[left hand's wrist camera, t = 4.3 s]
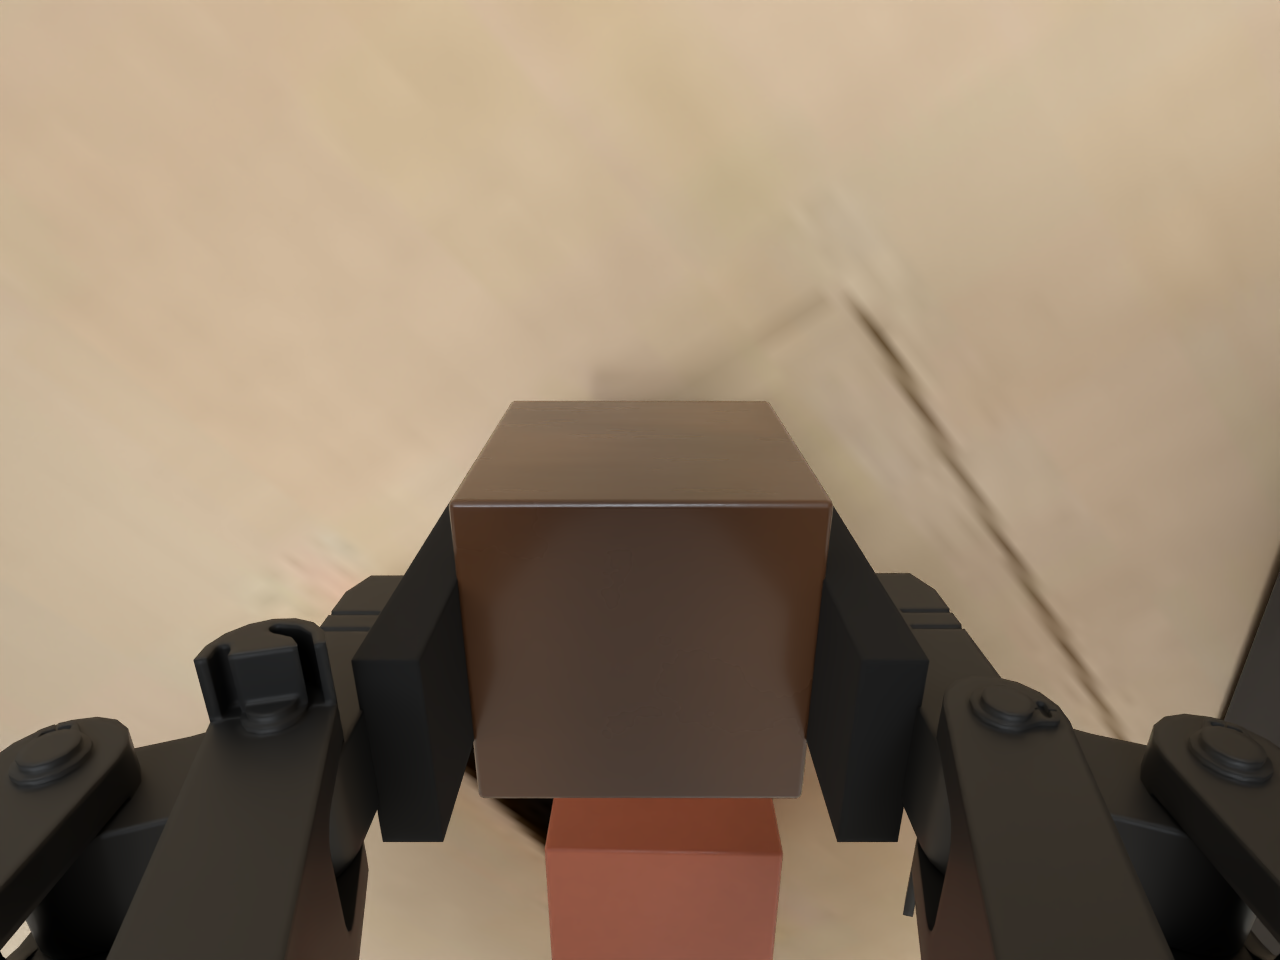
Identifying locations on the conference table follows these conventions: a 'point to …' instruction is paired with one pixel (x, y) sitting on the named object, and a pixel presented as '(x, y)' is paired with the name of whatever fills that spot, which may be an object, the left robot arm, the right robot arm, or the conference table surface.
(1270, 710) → the tote
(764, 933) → the terracotta block
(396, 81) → the conference table surface
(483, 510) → the walnut block
